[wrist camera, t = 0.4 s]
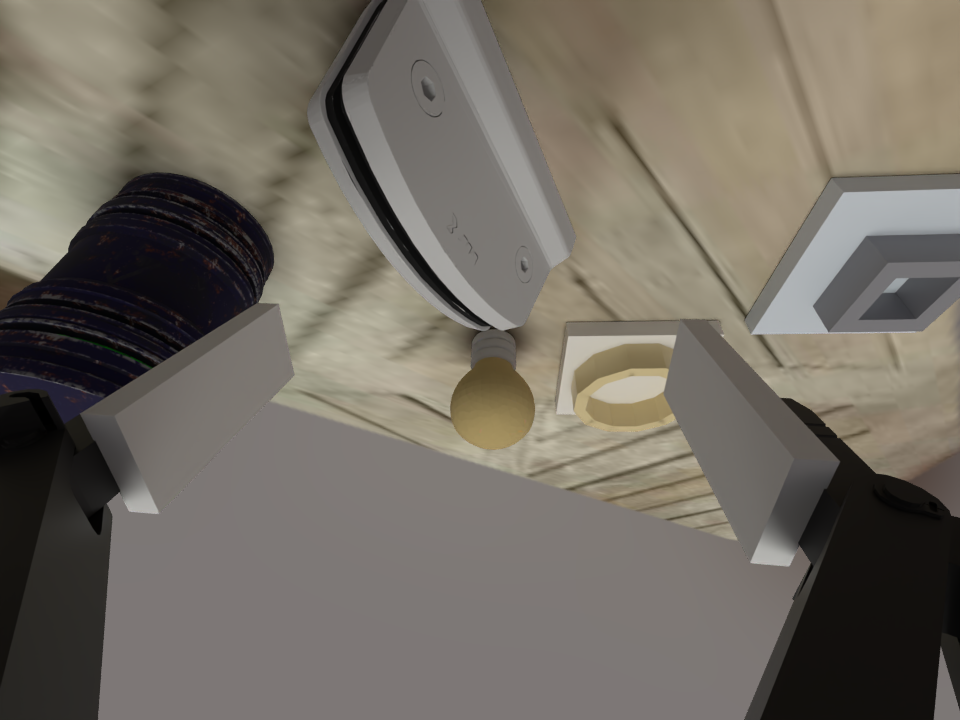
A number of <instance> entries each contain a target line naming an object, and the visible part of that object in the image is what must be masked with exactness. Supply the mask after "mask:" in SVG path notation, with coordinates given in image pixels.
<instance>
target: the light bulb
mask: <svg viewBox="0 0 960 720" xmlns="http://www.w3.org/2000/svg"><path fill="white" fill-rule="evenodd" d="M515 350H516V343H515V340H514V338H513V337H512V336H511V335H510V334H509V333H507V332H505V331H502V330H498V329H489V330H486V331H482V332H480V333H478V334H477V335H476V336H475V337H474V339H473V341H472V353H471V358H472V359H471V369H472V370H471V371H469V372H468V373H467V374H466V375H465V376H464V377H463V378H462V379H461V381H460V382H459V383H458V385H457V387H456V388H455V390H454V393H453V395H452V399H451V406H450V410H451V419H452V423H453V425H454V427H455V429H456V431H457V432H458V434H459V435H460V436H461V437H462V438H463V439H465V440H466V441H468V442H469V443H471V444H473V445H475V446H477V447H480V448H483V449H492V450H496V449H502V448H506V447H509V446H511V445H513V444H515V443H517V442H518V441H519V440H521V439H522V438H523V437H524V436H525V435H526V434H527V433H528V432H529V430H530V428H531V426H532V423H533V420H534V414H535V404H534V398H533V395H532V392H531V390H530V388H529V386H528V384H527V383H526V382H525V380H524V379H523V378H522V377H521V376H520V375H519V374H518V373H517V372H516V371H515V369H516V360H515V359H516V351H515Z"/></svg>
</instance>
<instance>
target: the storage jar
mask: <svg viewBox="0 0 960 720" xmlns="http://www.w3.org/2000/svg"><path fill="white" fill-rule="evenodd" d="M273 264H274V253H273V249H272V245H271V243H270V241H269V238H268V236H267V235H266V233H265V231H264V230H263V228H262V227H261V226H260V224H259V223H258V222H257V221H256V219H255V218H254V217H253V216H252V215H251V214H250V213H249V212H248V211H247V210H246V209H245V208H244V207H242V206H241V205H240V204H239V203H237V202H236V201H235V200H234V199H232V198H231V197H229V196H228V195H226V194H225V193H223V192H221V191H220V190H218V189H216V188H214V187H212V186H210V185H208V184H206V183H203V182H201V181H198V180H196V179H193V178H189V177H186V176H182V175H177V174H171V173H150V174H144V175H141V176H138V177H136V178H134V179H132V180H131V181H129V182H128V183H127V184H126V185H125V186H124V187H123V188H122V190H121V191H120V192H119V193H118V195H116V196H115V197H113V198H112V200H110V201H108V202H106V203H105V204H103V205H102V206H101V207H100V208H99V209H98V210H97V211H96V212H95V213H94V214H93V215H92V216H91V218H90V219H89V220H88V221H87V223H86V225H85V226H84V227H82V228H81V229H80V230H79V232H78V233H77V234H76V236H75V237H74V238H73V239H72V240H71V242H70V245H69V248H68V253H67V254H66V255H65V256H64V257H63V258H62V259H61V260H60V261H59V262H58V263H57V264H56V265H55V266H54V267H53V268H52V269H51V270H50V272H49V273H48V274H47V275H46V276H45V277H44V278H43V279H42V280H41V281H39V282H36V283H32V284H31V285H29V286H27V287H25V288H24V289H23V290H22V291H20V292H19V293H17V294H15V295H13V296H12V298H11V299H10V300H9V301H8V303H7V306H6V308H5V309H3V310H1V311H0V395H1V394H5V393H9V392H13V391H19V390H25V389H41V390H44V391H47V392H48V394H49V396H50V398H51V400H52V402H53V404H54V405H55V407H56V409H57V411H58V413H59V415H60V417H61V419H62V420H63V422H64V424H65V423H66V422H68V421H70V420H71V419H73V418H74V417H76V416H78V415H79V414H80V413H82V412H84V411H85V410H87V409H88V408H90V407H92V406H93V405H95V404H96V403H98V402H100V401H101V400H103V399H104V398H106V397H108V396H109V395H111V394H112V393H114V392H116V391H117V390H119V389H120V388H122V387H124V386H125V385H127V384H128V383H130V382H132V381H133V380H135V379H136V378H138V377H140V376H141V375H143V374H144V373H146V372H148V371H149V370H151V369H152V368H154V367H156V366H157V365H159V364H160V363H162V362H164V361H165V360H167V359H168V358H170V357H172V356H173V355H175V354H176V353H178V352H180V351H181V350H183V349H184V348H186V347H188V346H189V345H191V344H192V343H194V342H196V341H197V340H199V339H200V338H202V337H204V336H205V335H207V334H208V333H210V332H212V331H213V330H215V329H216V328H218V327H220V326H221V325H223V324H224V323H226V322H228V321H229V320H231V319H232V318H234V317H236V316H237V315H239V314H240V313H242V312H244V311H245V310H247V309H249V308H250V307H252V306H253V305H255V304H257V303H258V302H259V300H260V298H261V296H262V292H263V287H264V285H265V282H266V281H267V279H268V277H269V275H270V273H271V271H272V269H273Z"/></svg>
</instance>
